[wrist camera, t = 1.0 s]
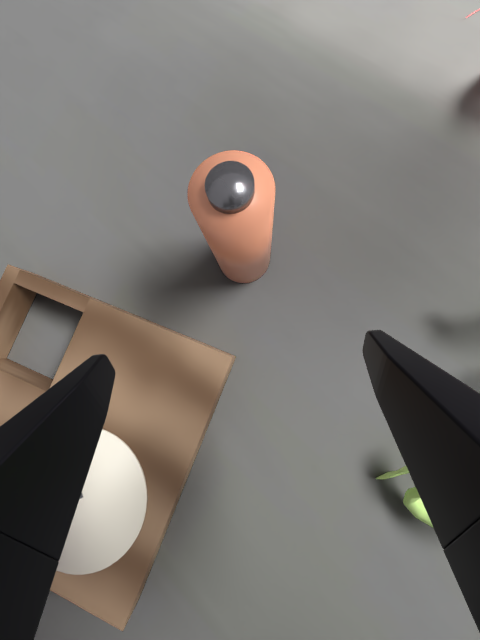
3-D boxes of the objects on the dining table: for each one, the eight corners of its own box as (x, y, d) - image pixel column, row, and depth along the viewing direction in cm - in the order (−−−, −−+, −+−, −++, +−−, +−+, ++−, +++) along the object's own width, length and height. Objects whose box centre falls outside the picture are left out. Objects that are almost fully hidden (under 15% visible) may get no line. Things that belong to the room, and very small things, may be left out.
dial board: (139, 599, 21) (120, 636, 19) (-67, 486, 24) (-112, 504, 21) (236, 356, 23) (232, 357, 20) (32, 272, 25) (4, 263, 22)
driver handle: (258, 290, 23) (255, 240, 13) (211, 272, 24) (170, 210, 13) (277, 243, 24) (289, 156, 13) (230, 226, 24) (205, 130, 14)
